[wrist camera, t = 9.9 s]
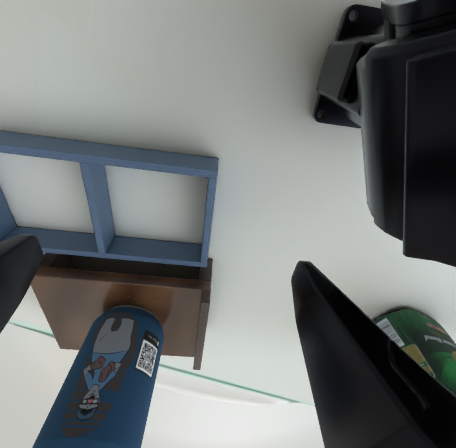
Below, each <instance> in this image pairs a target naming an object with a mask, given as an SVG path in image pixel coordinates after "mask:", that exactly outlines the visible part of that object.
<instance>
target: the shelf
mask: <svg viewBox="0 0 456 448" xmlns="http://www.w3.org/2000/svg"><path fill="white" fill-rule="evenodd" d="M212 262H213V260H212V259H207V267H200V273H199V280H193V279H182V278H170V277H159V276H147V275H136V274H125V273H113V272H102V271H90V270H79V269H73V268H72V265H71V262H70V259H69V255H66V254H55V253H45V254H44V257H43V261H42V263H41V265H40V267H39V269H38V271H37V273H36V274H35V276H34V278H33V280H32V282H31V286H32V288H33V290H34V293H35V295H36V297H37V299H38V301H39V304H40V306H41V308H42V310H43V312H44V314H45V317H46V319H47V321H48V323H49V325H50V327H51V330H52V332H53V334H54V336H55V338H56V341H57V342H58V345H59V347H60V348H61V349H73V350H80V348H81V346H82V344H83V342H84V340H85V338H86V336H87V334H88V332H89V330H90V328H91V326H92V324H93V322H94V321H95V320H96V319H97V318H98V317H99V316H101V315H102V314H103V313H105V312H106V311H108V310H109V309H111V308H113V307H116V306H121V305H133V306H138V307H142V308H144V309H147V310H149V311H150V312H152V313H153V314H155V315H156V316H157V318H158V319H159V321H160V324H161V326H162V329H163V332H164V342H163V347H162V352H161V355H169V356H185V357H194V366H193V369H194V370H200V368H201V361H202V354H203V347H204V340H205V333H206V326H207V319H208V312H209V306H210V293H211V278H212Z"/></svg>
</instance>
